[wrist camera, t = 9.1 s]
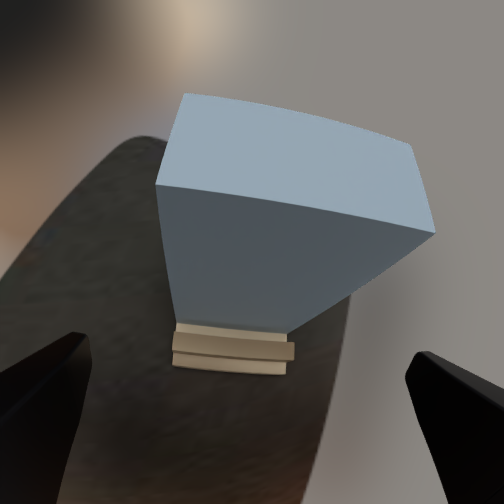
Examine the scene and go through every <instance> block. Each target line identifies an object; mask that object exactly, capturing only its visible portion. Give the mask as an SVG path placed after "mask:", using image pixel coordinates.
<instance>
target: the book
mask: <svg viewBox="0 0 504 504" xmlns="http://www.w3.org/2000/svg"><path fill="white" fill-rule="evenodd" d="M156 193H157V202H158V210H159V218H160V226H161V233H162V240H163V247H164V254H165V260H166V266H167V272H168V278H169V284H170V290H171V296H172V301H173V306H174V312H175V317H176V322H177V323H182V324H190V325H198V326H206V327H215V328H224V329H234V330H244V331H255V332H267V333H280V334H288V333H289V332H291V331H293V330H294V329H296V328H298V327H299V326H301V325H303V324H304V323H306V322H307V321H309V320H311V319H312V318H314V317H316V316H317V315H319V314H320V313H322V312H324V311H325V310H327V309H328V308H330V307H331V306H333V305H335V304H336V303H338V302H339V301H341V300H342V299H344V298H345V297H347V296H348V295H350V294H351V293H353V292H354V291H356V290H357V289H358V288H360V287H361V286H363V285H365V284H366V283H368V282H369V281H371V280H372V279H374V278H375V277H377V276H378V275H379V274H381V273H382V272H384V271H385V270H386V269H388V268H389V267H391V266H392V265H394V264H395V263H396V262H398V261H399V260H400V259H402V258H403V257H405V256H406V255H407V254H409V253H410V252H411V251H413V250H414V249H416V248H417V247H418V246H419V245H421V244H422V243H424V242H425V241H426V240H428V239H429V238H430V237H432V236H433V235H434V234H435V233H436V232H435V228H434V223H433V219H432V215H431V212H430V207H429V204H428V200H427V196H426V192H425V189H424V186H423V182H422V179H421V176H420V172H419V169H418V166H417V163H416V160H415V157H414V154H413V151H412V148H411V145H410V144H407V143H404V142H401V141H398V140H396V139H393V138H390V137H387V136H384V135H381V134H378V133H374V132H371V131H368V130H365V129H362V128H358V127H355V126H352V125H348V124H345V123H341V122H337V121H334V120H330V119H326V118H322V117H318V116H314V115H310V114H306V113H301V112H298V111H293V110H289V109H283V108H279V107H274V106H269V105H263V104H259V103H253V102H247V101H241V100H235V99H228V98H222V97H214V96H207V95H198V94H190V93H185V94H184V97H183V100H182V102H181V105H180V108H179V111H178V114H177V117H176V120H175V122H174V125H173V128H172V131H171V135H170V138H169V141H168V144H167V147H166V150H165V154H164V157H163V160H162V163H161V167H160V170H159V174H158V177H157V181H156Z"/></svg>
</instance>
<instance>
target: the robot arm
mask: <svg viewBox="0 0 504 504" xmlns="http://www.w3.org/2000/svg"><path fill="white" fill-rule="evenodd" d="M91 369H92V357H91V351H90V345H89V339H88V336H87V335H86V334H83V333H77V332H71V333H69V334H67V335H65V336H63V337H61V338H60V339H58V340H56V341H54V342H53V343H51V344H49V345H47V346H46V347H44V348H42V349H40V350H39V351H37V352H35V353H33V354H32V355H30V356H28V357H26V358H25V359H23V360H21V361H19V362H18V363H16V364H14V365H12V366H11V367H9V368H7V369H5V370H4V371H2V372H0V504H56V502H57V498H58V494H59V490H60V486H61V482H62V478H63V475H64V471H65V467H66V464H67V460H68V457H69V454H70V450H71V447H72V444H73V440H74V437H75V434H76V431H77V428H78V425H79V421H80V418H81V413H82V409H83V404H84V399H85V395H86V390H87V386H88V382H89V377H90V373H91ZM405 381H406V384H407V387H408V390H409V393H410V397H411V400H412V403H413V406H414V410H415V413H416V416H417V419H418V422H419V425H420V427H421V430H422V432H423V435H424V437H425V440H426V442H427V445H428V447H429V450H430V453H431V455H432V458H433V461H434V463H435V466H436V469H437V472H438V474H439V477H440V480H441V483H442V486H443V489H444V492H445V495H446V498H447V501H448V504H504V389H503V388H501V387H498V386H496V385H495V384H493V383H491V382H489V381H487V380H485V379H483V378H481V377H479V376H477V375H475V374H473V373H471V372H469V371H467V370H465V369H463V368H461V367H459V366H457V365H455V364H453V363H451V362H449V361H447V360H445V359H443V358H441V357H439V356H437V355H435V354H433V353H431V352H429V351H422V352H417V353H416V354H415V356H414V358H413V360H412V362H411V364H410V366H409V368H408V370H407V371H406V375H405Z"/></svg>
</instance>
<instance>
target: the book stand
mask: <svg viewBox="0 0 504 504" xmlns="http://www.w3.org/2000/svg"><path fill="white" fill-rule="evenodd" d="M172 351H173V363H172V365H173V366H176V367H183V368H192V369H201V370H211V371H222V372H234V373H248V374H266V375H283V374H286V362H290V361H293V360H294V342H287V334H280V333H267V332H255V331H244V330H234V329H224V328H215V327H206V326H198V325H190V324H182V323H177V325H176V331H174V336H173V345H172Z"/></svg>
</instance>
